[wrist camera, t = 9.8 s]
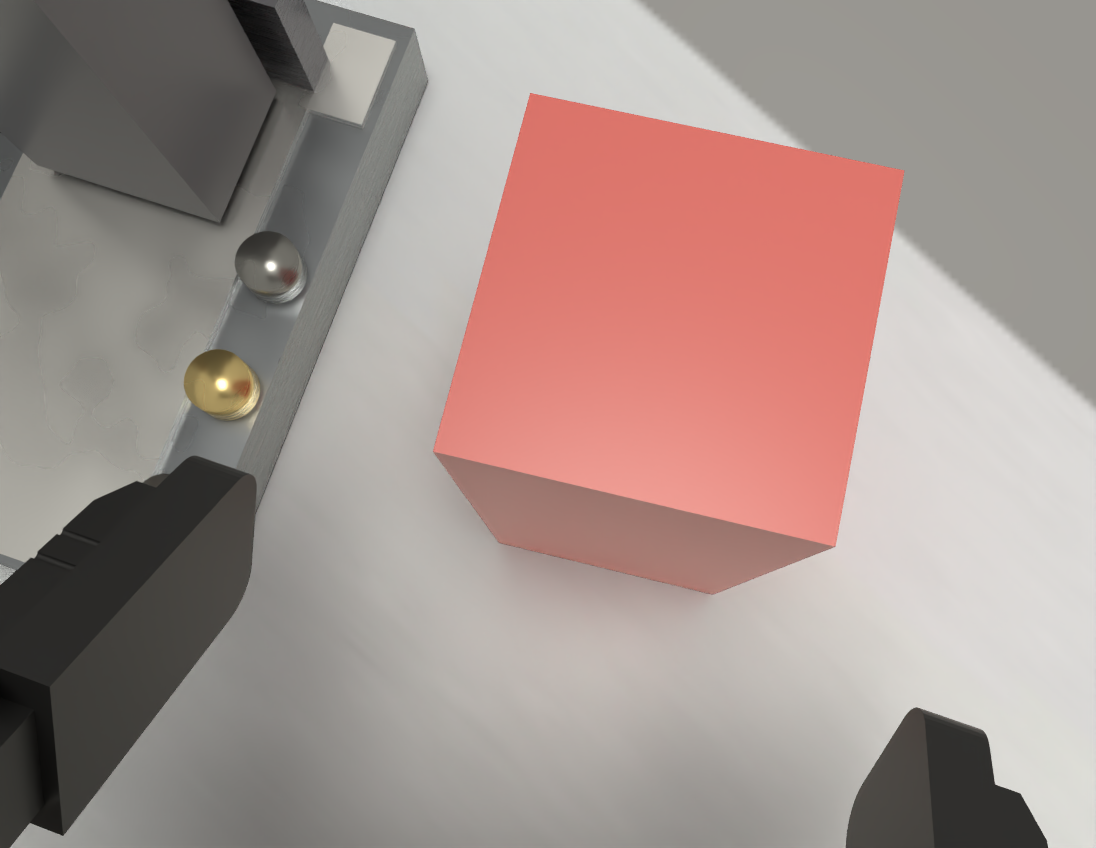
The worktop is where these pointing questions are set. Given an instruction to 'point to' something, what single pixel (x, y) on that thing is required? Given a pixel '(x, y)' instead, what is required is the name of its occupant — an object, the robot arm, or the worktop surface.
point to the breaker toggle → (134, 95)
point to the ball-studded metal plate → (192, 282)
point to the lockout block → (668, 346)
